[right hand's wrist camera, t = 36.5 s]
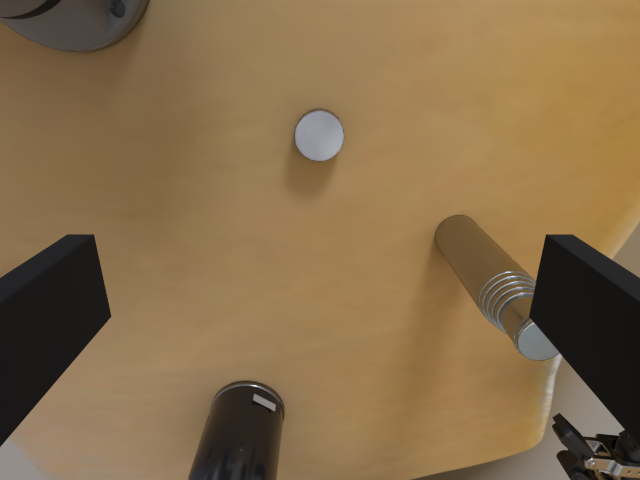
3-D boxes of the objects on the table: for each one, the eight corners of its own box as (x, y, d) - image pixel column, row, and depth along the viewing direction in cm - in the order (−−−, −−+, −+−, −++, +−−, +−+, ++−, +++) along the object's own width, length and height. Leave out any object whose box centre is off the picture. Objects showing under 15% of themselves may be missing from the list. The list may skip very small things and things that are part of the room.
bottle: (486, 223, 46) (594, 322, 28) (465, 260, 47) (555, 377, 29) (446, 208, 45) (531, 300, 27) (427, 247, 47) (494, 357, 29)
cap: (285, 134, 42) (283, 137, 40) (318, 97, 41) (317, 99, 39) (320, 166, 43) (320, 171, 41) (352, 131, 42) (354, 135, 40)
